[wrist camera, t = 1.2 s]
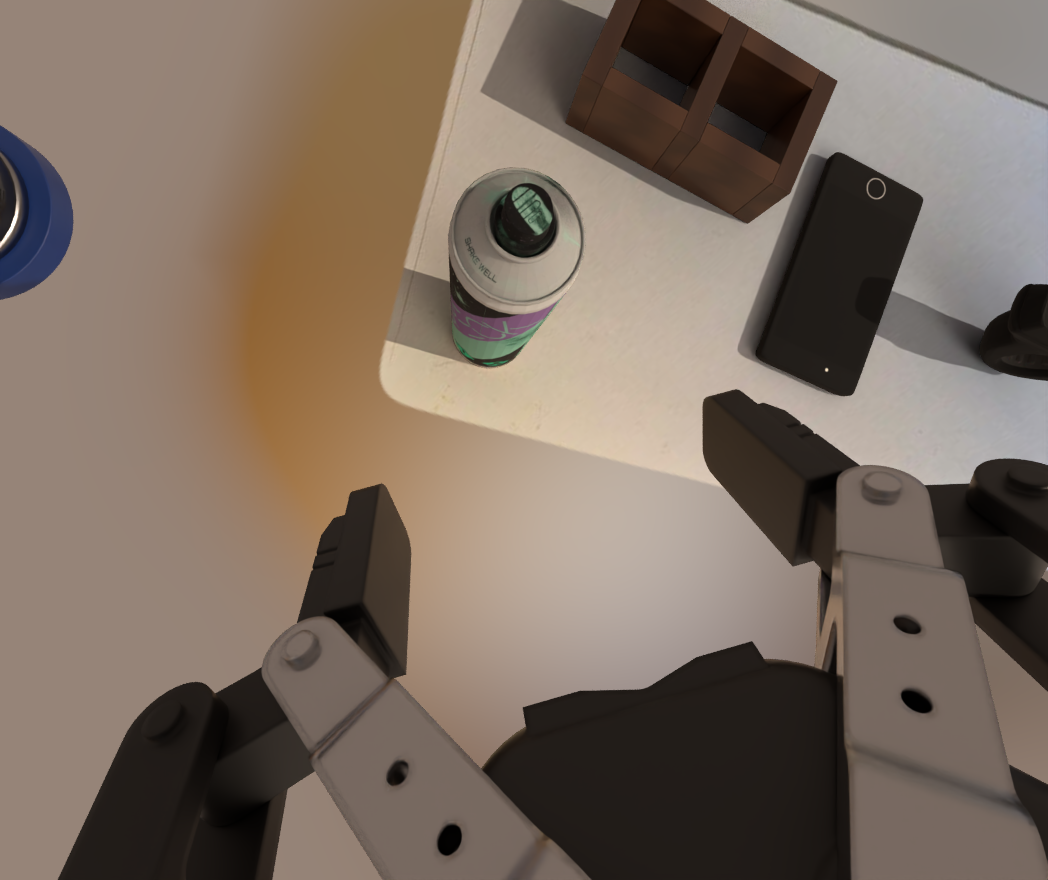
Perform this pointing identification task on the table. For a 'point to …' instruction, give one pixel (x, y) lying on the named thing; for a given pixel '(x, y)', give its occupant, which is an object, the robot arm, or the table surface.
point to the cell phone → (840, 276)
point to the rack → (703, 102)
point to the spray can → (510, 261)
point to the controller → (1020, 336)
